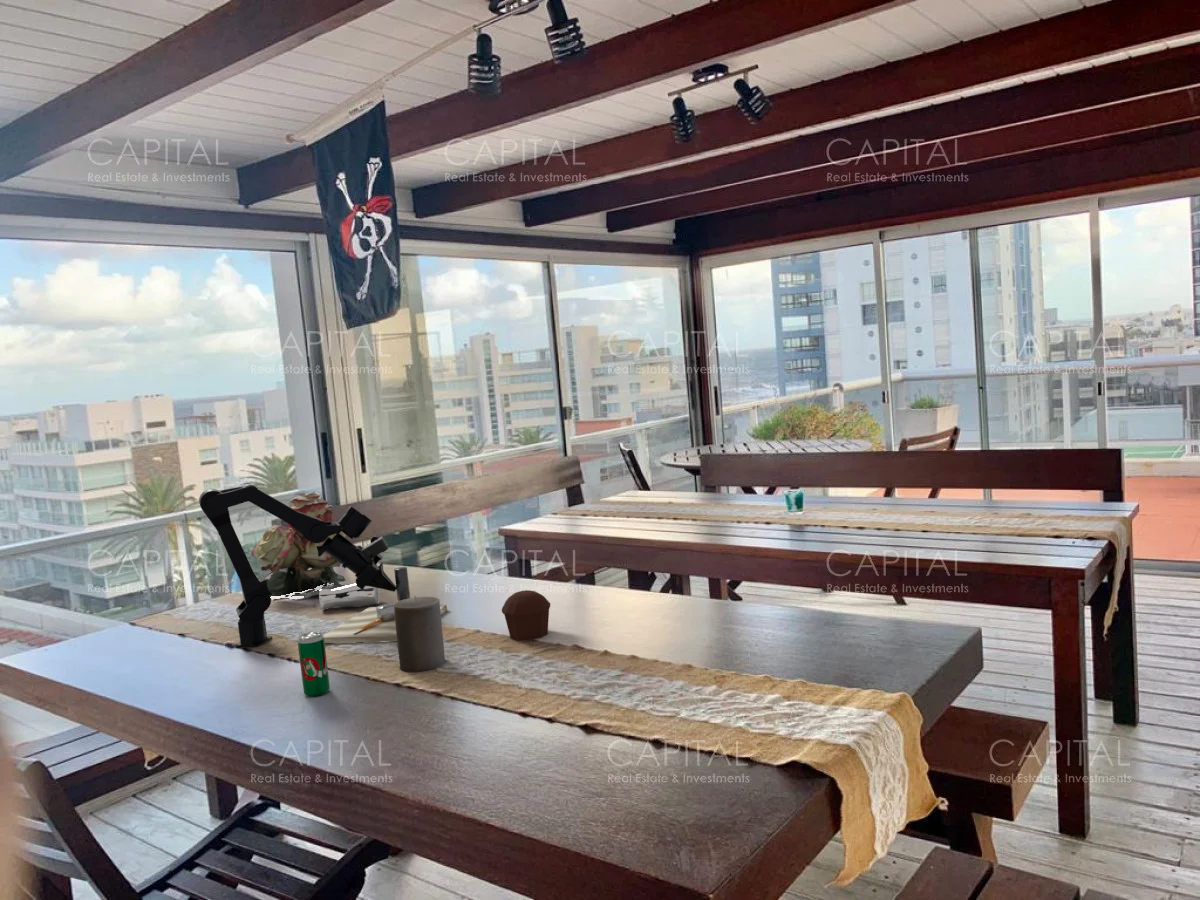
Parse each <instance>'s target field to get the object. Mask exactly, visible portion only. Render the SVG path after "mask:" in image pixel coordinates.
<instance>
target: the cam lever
mask: <svg viewBox="0 0 1200 900" xmlns="http://www.w3.org/2000/svg"><path fill="white" fill-rule="evenodd" d="M393 570H394V571H393V572H394V580H395V586H396V596H397V597H396V598H397V602H398V601H401V600H405V599H409V598H411V594H410V593H411V592H410V585H409V575H408V567H407V566H400V567H399V566H398V567H396V568H394V569H393ZM394 604H395V603H386V604H385V603H384V604H381V605H378V606H375V607H376V611H377V620H375V621H373V622H370V623H368V624H366V625H364V626H361V627H360V629H362V630H364V629H366V628H368V627H371V626H373V625H375V624H377V623H380V622H382V621H389V620H393V619H395V614H394Z"/></svg>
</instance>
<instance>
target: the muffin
mask: <svg viewBox="0 0 1200 900" xmlns="http://www.w3.org/2000/svg"><path fill="white" fill-rule="evenodd" d="M550 608H551V602H550V601H549V600H548V599H547V598H546V597H545V596H544V595H542V594H541V593H539V592H537V591H535V590H529V589H528V590H526V589H525V590H524V589H523V590H520V591H517V592H515V593H512V594H511V595H510V596H509V597H507V599H506V600H505V602H504V604H503V606H502V607H501V613H502V614H503V615H504V618H505V622H506V626H507V630H508V634H509V638H510V640H513V641H514V640H515V641H517V642H519V641H522V642H523V641H533V640H537V639H542V638H543V637H544V636H547V635H548V632H549V619H550V617H549V615H550Z"/></svg>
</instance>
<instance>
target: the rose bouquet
mask: <svg viewBox="0 0 1200 900" xmlns="http://www.w3.org/2000/svg"><path fill="white" fill-rule="evenodd" d="M322 495H323V494H322V493H319V492H316V491H313V492H310V493H305V492H302V493H301V492H299V493H296V494H295V497H293V498H290V500H289V501H288V506H289V507H291V508H292V509H294V510H296V511H298V512H301V513H304V514H307V515H310V516H313V517H316V518H319V519H321V520H322V521H324V522H332V521H333V522H334V520H333V518H332V514H333V512H332V511H333V510H334V506H333V505H329V501H327V500H325V499H324V500H323V497H322ZM286 524H287V526H288V527H286V526H283V525H277V524H273V525H272V526H270V528H268V529H267V530H265V531H264V533H263V534H262V537H261V538H260V539H259V540H258V542H257V544H256V545H254V546H253V548H252V550H251V552H250V555H251V556H252V557H255V558H256V559H257V560H258V562H259V563H260V565H262V566H261V568H260V570H261V571H265V572H267V571H268V570H270V571H271V572H269V573H267V574H266V575H265V577H266V578H265V577H264V578H265V580H266V583H267V587H268V588H269V589H270V591H271V593H272V595H269V596H270V597H271V596H281V595H286V594H290V593H293V592H302V591H305V590H308V589H314V588H316V587H317V586H320V585H323V584H325V585H327V583H329V584H331V583H334V584H332V585H328V586H325V585H324V586H325V587H322V588H337V587H341V586H344V585H341V584H339V583H340V582H344V581H347V582H348V583H350V582H349V579H347V580H346V578H345V577H344V575H341V574H338V573H336V571H335V569H334V568H335V567H341V566H342V564H341V563H340V562H338V561H337V560H336V559H334V558H333V557H332V556H330V555H329V554H328V553H326V552H324V553H323V554H322V555H321V556H320V557H319V556H318V550H317V548H316V547H317V546H321V545H322V544H323V543H324V541H323V542H321V543H313V542H311V541H310V540H308V539H307V538H306V537H305V536H304V535H302V534H301V533H300V532H299V531H298V530H296V529H295V528H294V527H293V526H291V525H290V524H289V523H287V522H286ZM341 529H342V528H341ZM340 534H341V535H342V536H344V537H345V538H346V536H347V535H346V534H344V533H343V532H342V531H341V532H340ZM335 535H336V534H334V535H331V536H328V537H329V538H331V539H332V538H333V537H334V536H335ZM282 569H283V570H282ZM284 569H286V570H284ZM269 575H270V577H269V578H267V576H269ZM308 592H309V593H306V594H300V593H298V594H299V595H292V596H304V598H305V599H307V598H310V597H313V596H317V595H318V596H319V592H320V590H317V591H314V592H310V591H308ZM292 596H291V597H292Z"/></svg>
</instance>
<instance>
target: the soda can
mask: <svg viewBox="0 0 1200 900" xmlns="http://www.w3.org/2000/svg"><path fill="white" fill-rule="evenodd" d="M297 649H298V657H299V664H300V673H301V674H300V675H301V681H302V689H303V694H304V695H305V696H306V697H310V698H311V697H312V698H315V697H316V698H317V697H321V696H324V695H326V694H327V693H328V692H329V691H330V689H331V686H330V685H331V684H330V677H329V670H328V669H329V667H328V660H327V652H326V644H325V642H324V637H323V634H322V632H321V631H309V632H306V633H302V634H300V635H299V636H298V640H297Z"/></svg>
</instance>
